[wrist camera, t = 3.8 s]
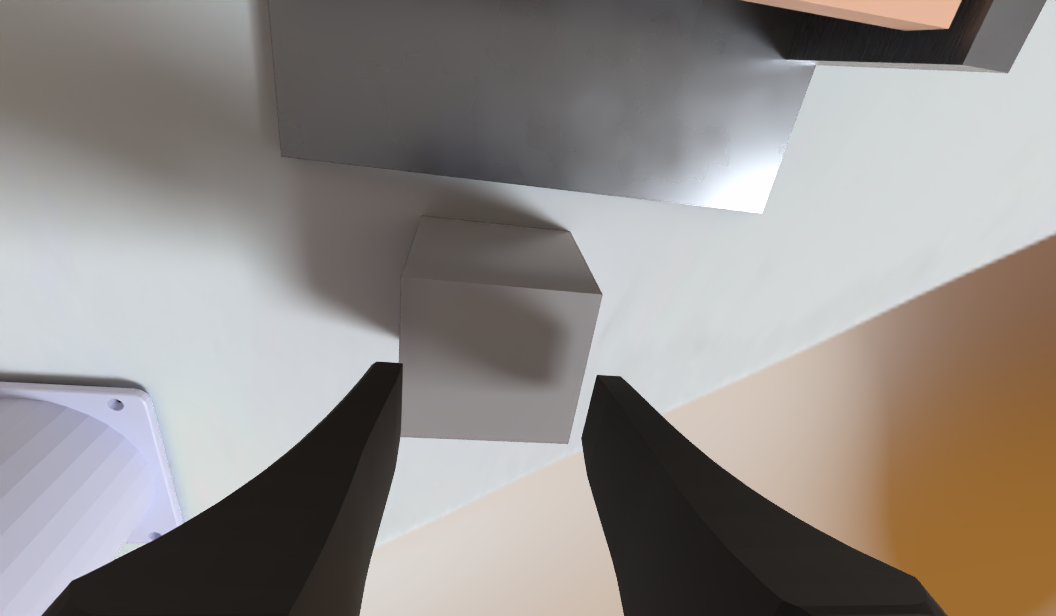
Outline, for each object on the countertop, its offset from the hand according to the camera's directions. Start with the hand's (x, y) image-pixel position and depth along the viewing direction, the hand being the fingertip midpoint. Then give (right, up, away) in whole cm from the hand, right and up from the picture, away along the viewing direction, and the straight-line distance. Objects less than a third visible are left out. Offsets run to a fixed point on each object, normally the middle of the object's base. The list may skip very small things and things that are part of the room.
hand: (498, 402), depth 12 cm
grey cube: (-1, +3, +6) cm, 6 cm away
